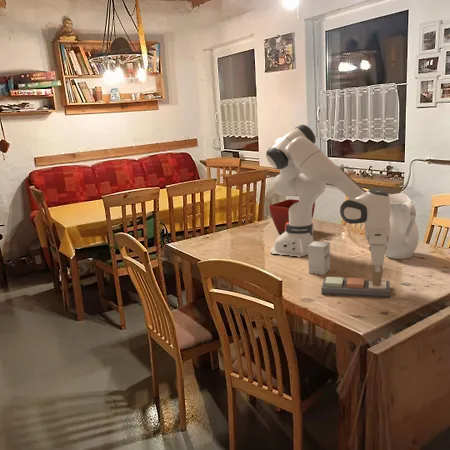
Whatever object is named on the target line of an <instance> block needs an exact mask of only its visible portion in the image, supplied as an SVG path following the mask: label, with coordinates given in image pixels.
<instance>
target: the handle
mask: <svg viewBox="0 0 450 450" xmlns="http://www.w3.org/2000/svg"><path fill="white" fill-rule="evenodd" d="M386 248H387V247H386ZM386 248H385V251H386ZM368 251H369V252H370V253H371V250H370V246H368ZM383 270H384V269H383V265H382V266H380V272H376V271H375V265H373V264H372V263H371V280H372V284H373V285H375V286H380V284H381V280H382V279H383V272H384V271H383ZM382 281H383V280H382Z"/></svg>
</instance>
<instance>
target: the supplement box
mask: <svg viewBox="0 0 450 450" xmlns="http://www.w3.org/2000/svg"><path fill="white" fill-rule="evenodd" d="M313 241H314V242H312V243H311V244H310V245H309V246H308V255H307V256H308V273H309V274H313V273H315V274H314V275H320V276H321V275H322V276H325V275H326V274H328V272H329V271H330V270H331V250H330V242H328V241H316V240H313Z"/></svg>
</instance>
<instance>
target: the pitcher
mask: <svg viewBox="0 0 450 450" xmlns="http://www.w3.org/2000/svg"><path fill="white" fill-rule="evenodd" d="M389 197H390V203H391V216H390V224H391V238H390V239H389V240H388V243H387V245H386V247H387V248H386V251H385V255H384V256H386V257H387V258H389V259H394V260H406V259H409V258H411V257H412V256H413V255H414V253H415V251H416V249H417V247H418V244H419V236H420V235H419V229H418V226H417V222H416V218H417V217H416V214H417V212H416V211H417V210H416V207H415V205H414V203H413V202H414V201H413V200H412V199H411V198H410V196H408V195H407V194H406V193H404V192H401V193H400V192H399V193H392V194H389Z"/></svg>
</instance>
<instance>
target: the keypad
mask: <svg viewBox="0 0 450 450" xmlns="http://www.w3.org/2000/svg"><path fill="white" fill-rule="evenodd" d="M326 278H327V277H325V278H324V279H323V280H322V281H323V282H322V285H321V288H320V289H321V291H320V292H321V295H325V294H330V296H344V295H346V297H347V296H348V297H367V298H381V299H382V298H386V299H387V298H388V299H390V297H391V287H390V286H391V285H390V283H391V282H390V280H381V281H383V282H386V288H387V289H368V286H369V281H372V279H364V288H346V283H347V278H343V287H325V281H326Z"/></svg>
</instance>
